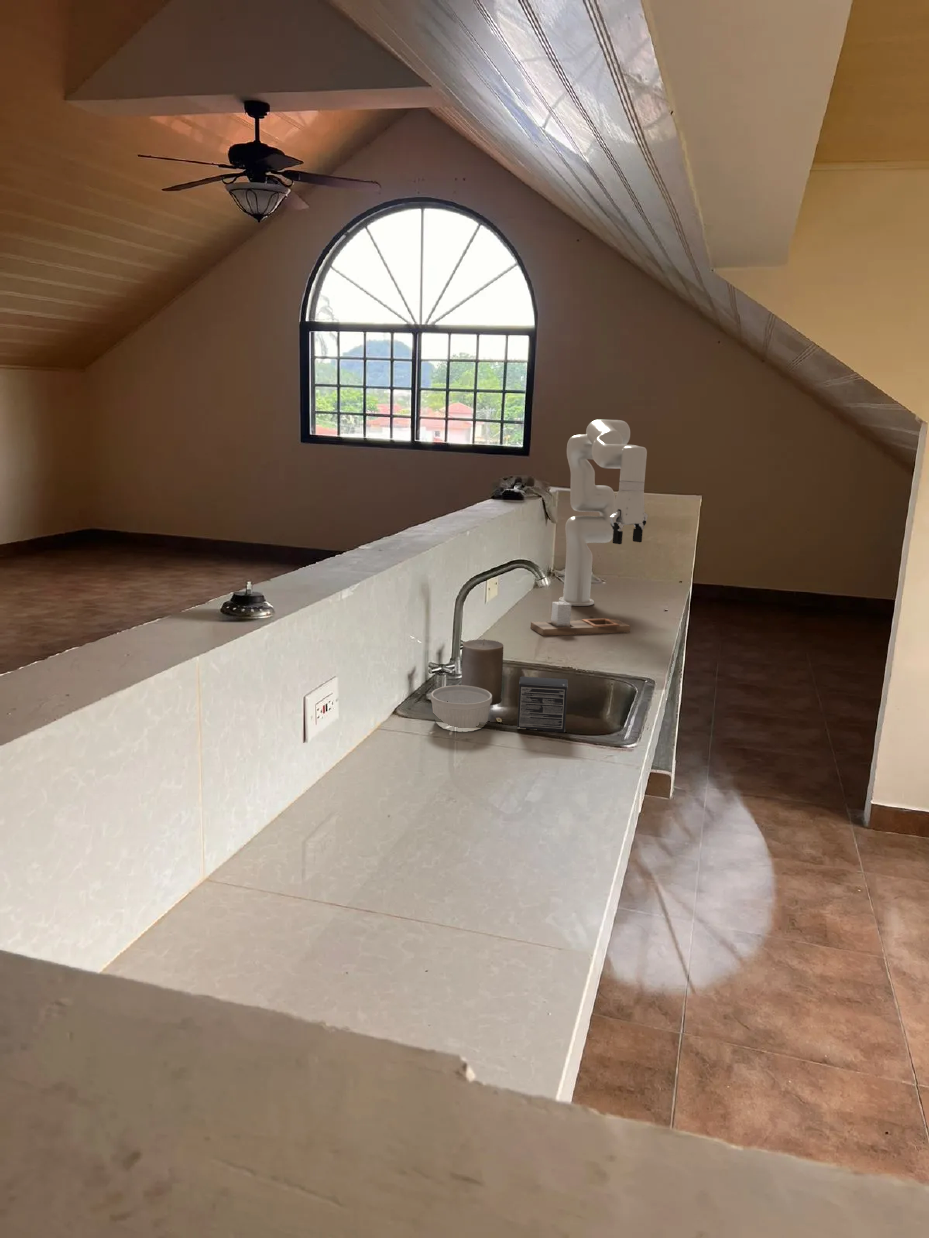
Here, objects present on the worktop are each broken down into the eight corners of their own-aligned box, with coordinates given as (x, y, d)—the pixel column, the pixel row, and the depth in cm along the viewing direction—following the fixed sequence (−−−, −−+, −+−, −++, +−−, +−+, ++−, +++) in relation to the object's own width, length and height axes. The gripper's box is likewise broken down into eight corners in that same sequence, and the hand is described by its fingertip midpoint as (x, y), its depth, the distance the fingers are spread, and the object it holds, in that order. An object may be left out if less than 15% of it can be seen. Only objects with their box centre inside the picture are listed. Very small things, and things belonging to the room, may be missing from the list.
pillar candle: (508, 698, 216) (511, 637, 213) (488, 709, 208) (491, 645, 204) (473, 691, 221) (475, 631, 217) (452, 701, 212) (454, 639, 209)
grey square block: (550, 629, 287) (552, 601, 285) (563, 629, 288) (565, 601, 286) (556, 633, 283) (558, 604, 281) (569, 632, 284) (571, 604, 282)
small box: (565, 723, 201) (568, 677, 198) (565, 733, 194) (568, 686, 192) (517, 719, 202) (520, 674, 199) (516, 729, 195) (518, 683, 193)
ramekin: (437, 736, 189) (438, 705, 188) (423, 716, 202) (424, 686, 200) (498, 733, 193) (499, 702, 191) (480, 713, 205) (482, 683, 204)
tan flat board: (530, 628, 288) (530, 620, 287) (615, 624, 297) (615, 617, 296) (542, 635, 278) (543, 628, 278) (629, 632, 288) (630, 624, 287)
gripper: (639, 485, 285) (635, 539, 289) (603, 486, 274) (599, 543, 277) (658, 487, 280) (654, 542, 283) (623, 488, 268) (618, 546, 272)
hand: (627, 542), depth 280 cm, fingers open, 9 cm apart
